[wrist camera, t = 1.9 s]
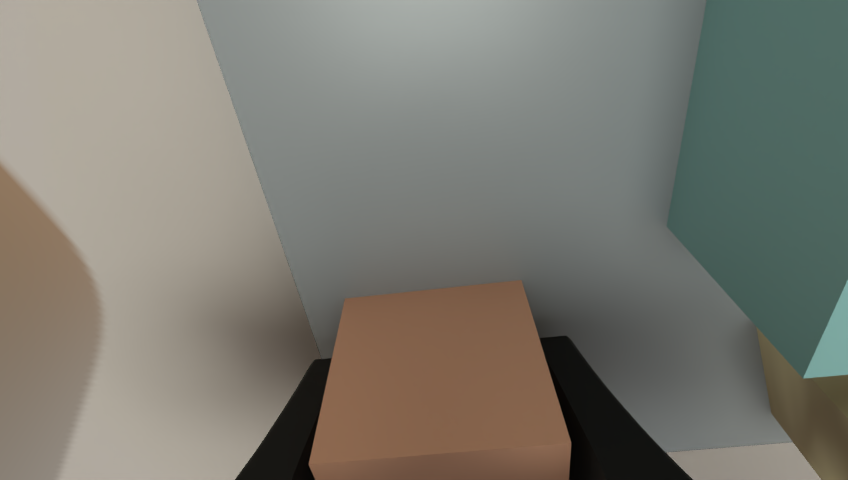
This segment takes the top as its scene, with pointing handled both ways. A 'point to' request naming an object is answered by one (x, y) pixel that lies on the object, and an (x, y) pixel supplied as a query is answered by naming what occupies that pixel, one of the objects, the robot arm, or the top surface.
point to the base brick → (772, 171)
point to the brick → (809, 412)
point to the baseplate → (500, 179)
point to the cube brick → (440, 390)
